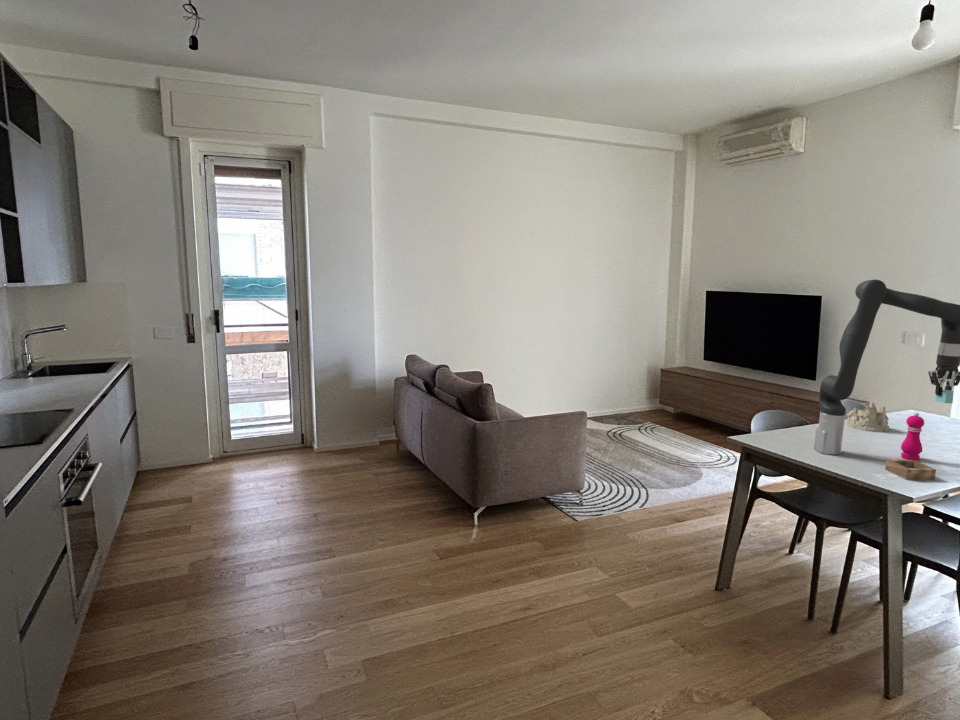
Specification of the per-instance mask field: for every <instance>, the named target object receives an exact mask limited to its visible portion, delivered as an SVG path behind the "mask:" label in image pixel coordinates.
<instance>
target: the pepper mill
mask: <svg viewBox="0 0 960 720" xmlns="http://www.w3.org/2000/svg"><path fill="white" fill-rule="evenodd" d="M905 422H906V425H907V426H906V430H907V433H906V437H905V438H904V440H903V441H902V443H901V446H900V450H902V452H901V453H900V457H901V458H902V459H903V460H915V461H917V462H919V461H920V458H921V457H920V454H921V453H922V452H923V445H922V442H921V438H920V436H921V433H922V430H923V428H922V427H924V425H925V419H924V418H923V417H921V416H920V414H919V412H917V411H916V412H914V413H913V415H909V416H908V417H907V418H906V421H905Z"/></svg>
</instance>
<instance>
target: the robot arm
mask: <svg viewBox="0 0 960 720" xmlns="http://www.w3.org/2000/svg"><path fill="white" fill-rule="evenodd" d="M854 294H855V296H856V297H857V299H858V305H857V308H856V310H855V312H854V314H853V316H852V317H851V319H849V322H848V324H847V325H846V327H845V329H844V331H843V334H842V337H841V339H840V341H839V355H840V367H839V370H838V372H837V375H832V374H831V375H827V376H826V377H824V378H823V379H822V381H821V383H820V387H819V400H818V402H819V403H818V404H819V407H820V408H819V409H820V412H819V419H818V420H819V421H818V427H815V434H814V435H815V436H814V443H813V450H814V451H816V452H819V453H821V454H825V455H826V454H827V455H833V456H834V455H840V454H841V453H842V445H843V444H842V443H843V436H844V430H845V429H844V428H845V420H846V415H847V413H846V411H847V408H846V407H845V406H844V404H843V403H842V401H844V400H847V399H848V398H849V397H851V395H852V393H853V391H854V389H855V384H856V379H857V374H858V370H859V367H860V364H861V361H862V359H863V356H864V355H863V354H864V353H865V349H866V347H867V345H868V343H869V339H870V335H871V332H872V331H873V330H872V329H873V326H874V323H875V319H876V318H877V317H876V316H877V313H878V311H879V309H880V308H881V305H882V304H883V305H886V306H887V305H888V306H893V307H897V308H899V309H900V308H901V309H904V310H907V311H910V312H914V313H917V314H921V315H925V316H929V317H935V318H939V319H940V321H941V322H940V323H941V336H940V340H939V341H940V343H939V345H938V349H937V356H936V362H935V364H936V368H935V369H933V370H929V371H927V372H928V376H929V381H930V383H931V385H934V386H935V391H934V394H935V396H936V395H938V396H941V395H942V390H943V389H944V390H950V391H953V388H954V387H955V386H957V387H958V386H959V384H960V370H959V367H960V304H957V303H952V302H947V301H942V300H940V299H936V298H934V297H930V296H926V295H921V294H917V293H910V292H904V291H899V290H896V289H891V288H888V287H887V286H886V284H885V282H883V281H882V280H881V279H880V280H879V279H869V280H868V279H867V280H864V281H861V282H860V283H859V284H858V285H857V286H856V288H855V293H854ZM944 385H945V386H944Z"/></svg>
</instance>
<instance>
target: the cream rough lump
mask: <svg viewBox="0 0 960 720" xmlns="http://www.w3.org/2000/svg"><path fill="white" fill-rule="evenodd" d="M846 416H847V418H846V419H847V421H846V423H845V424H846V425H847V426H849V427H850V428H853V429H856V430H860V431H865V432H871V433H879V432H880V433H881V432H882V433H883V432H885V433H887V432H890V431H891V430H890V426H889V425H888V424H889V417H888V415H887V413H886V406H885V405H880V408H878V407H876V405H875V402H874V401H872V400H871V402H870V403H869V406H868V405H867V406H865V407H864V409H862V410H861V409H858V408H857V407H854V408H853V409H851V410H850V411H849V412H848V413H846Z"/></svg>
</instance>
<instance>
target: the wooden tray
mask: <svg viewBox="0 0 960 720" xmlns="http://www.w3.org/2000/svg"><path fill="white" fill-rule="evenodd" d="M885 471H888V472H890V473H893V474H894V475H896V476H898V477H900V478H902V479H903V480H907V481H908V480H909V481H910V480H912V481H917V480H918V481H923V480H924V481H928V480H929V481H934V480H935V479H936V473H937V469H935V468H933V467H931V466H929V465H926V464H924V463H921V462H919V461H915V460H907V459H886V461H885Z"/></svg>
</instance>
